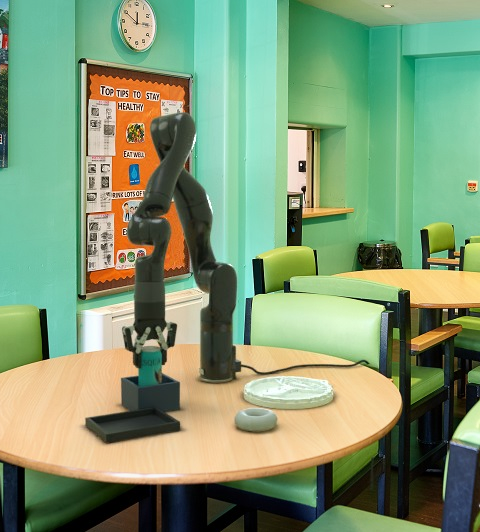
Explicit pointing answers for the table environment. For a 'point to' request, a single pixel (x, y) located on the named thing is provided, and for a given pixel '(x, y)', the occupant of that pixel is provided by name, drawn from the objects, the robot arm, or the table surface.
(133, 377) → the caddy
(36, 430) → the table surface
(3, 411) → the table surface
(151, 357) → the beverage can
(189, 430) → the table surface
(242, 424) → the donut
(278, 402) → the medallion
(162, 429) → the tray
